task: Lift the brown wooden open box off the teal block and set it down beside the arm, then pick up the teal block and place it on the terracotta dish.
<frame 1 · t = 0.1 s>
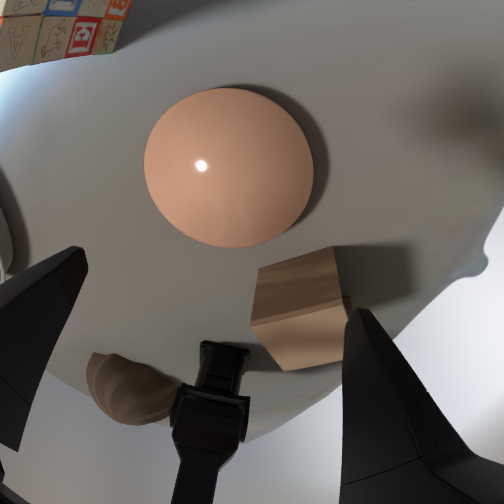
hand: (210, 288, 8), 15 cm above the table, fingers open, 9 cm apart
decorative dome: (134, 378, 48), on the table
brown wooden open box: (307, 285, 27), on the table
dish: (227, 170, 21), on the table
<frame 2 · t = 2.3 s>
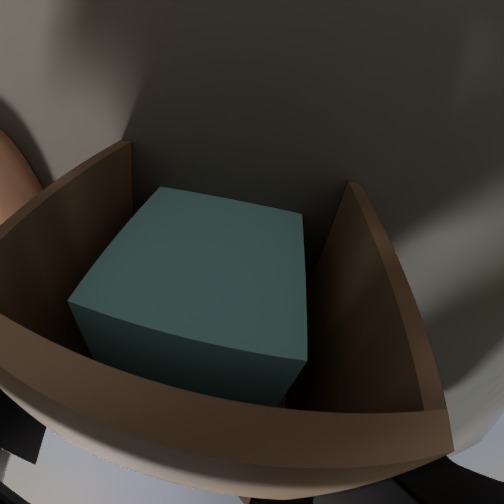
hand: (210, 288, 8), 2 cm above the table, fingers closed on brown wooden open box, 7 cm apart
block: (221, 255, 10), on the table
brown wooden open box: (221, 256, 10), on the table, touching gripper
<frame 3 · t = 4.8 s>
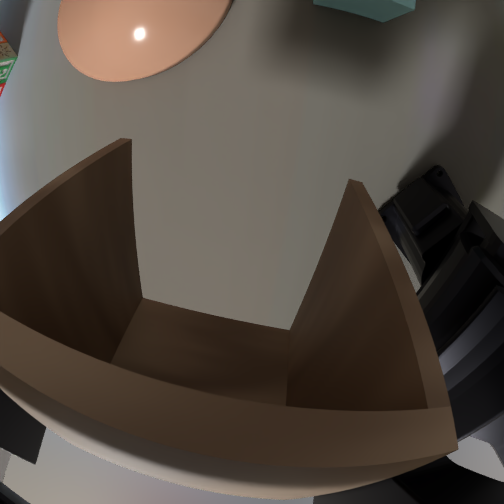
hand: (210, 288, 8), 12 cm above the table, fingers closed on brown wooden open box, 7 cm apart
brown wooden open box: (221, 255, 10), point 10 cm above the table, touching gripper
when the fingers open (3 cm above the table, at t = 7.5 s): brown wooden open box drops 1 cm, on the table.
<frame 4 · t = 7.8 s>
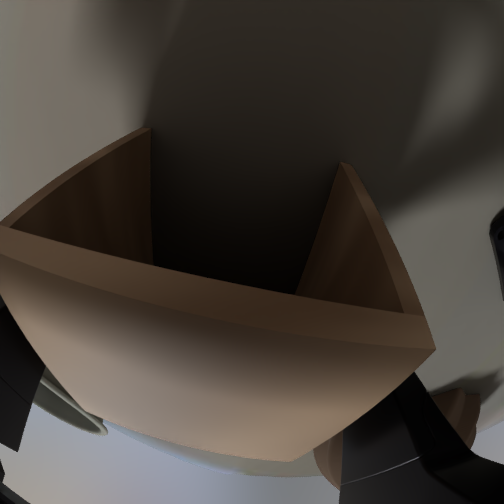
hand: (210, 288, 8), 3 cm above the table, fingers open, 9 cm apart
decorative dome: (398, 426, 24), on the table
cake pan: (34, 355, 25), on the table
brown wooden open box: (229, 232, 11), on the table
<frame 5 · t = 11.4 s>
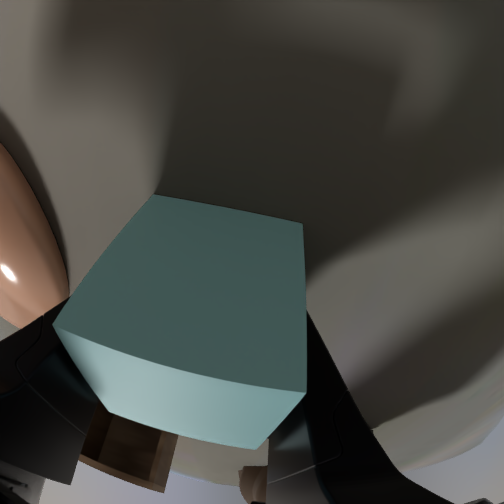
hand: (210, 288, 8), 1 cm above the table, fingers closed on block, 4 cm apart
decorative dome: (300, 471, 34), on the table
block: (217, 266, 9), on the table, touching gripper
brown wooden open box: (138, 411, 21), on the table
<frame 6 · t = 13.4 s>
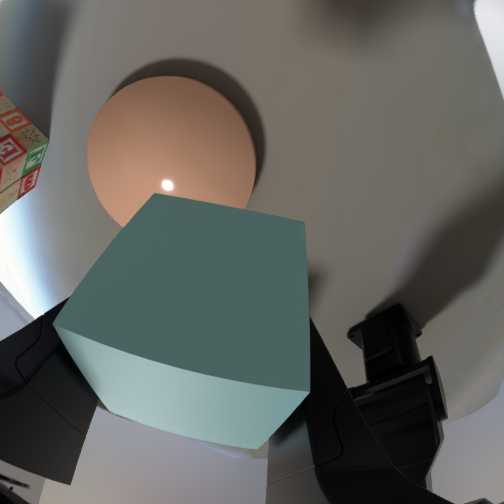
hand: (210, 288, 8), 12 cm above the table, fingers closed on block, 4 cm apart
block: (219, 265, 9), point 11 cm above the table, touching gripper
dish: (166, 163, 19), on the table
when the fingers open (4 cm above the table, at t = 15.7 s): block drops 1 cm, resting on dish.
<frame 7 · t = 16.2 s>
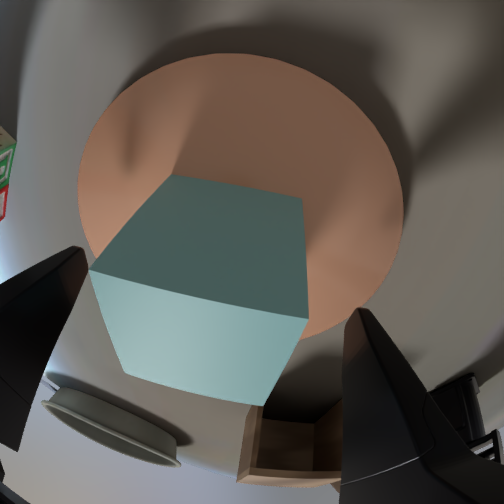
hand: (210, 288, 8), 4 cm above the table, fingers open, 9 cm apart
cake pan: (115, 418, 36), on the table
block: (227, 239, 10), point 1 cm above the table, touching dish
brown wooden open box: (292, 410, 22), on the table
dish: (231, 224, 11), on the table
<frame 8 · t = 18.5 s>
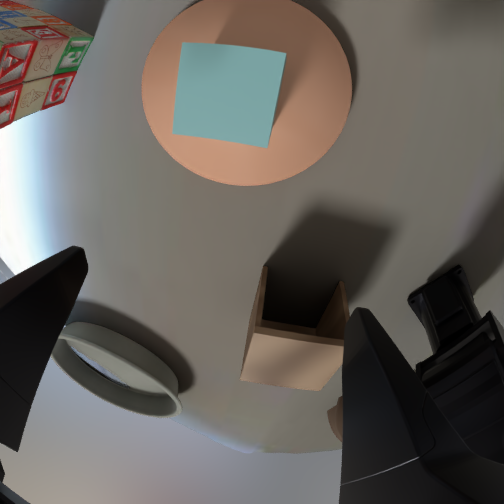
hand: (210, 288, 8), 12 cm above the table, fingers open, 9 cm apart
decorative dome: (383, 402, 39), on the table
cake pan: (118, 362, 40), on the table
block: (242, 86, 14), point 1 cm above the table, touching dish
brown wooden open box: (293, 302, 26), on the table
dish: (244, 86, 15), on the table
stack of blocks: (18, 34, 12), on the table
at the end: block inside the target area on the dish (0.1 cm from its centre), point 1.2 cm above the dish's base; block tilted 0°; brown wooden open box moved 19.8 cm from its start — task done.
